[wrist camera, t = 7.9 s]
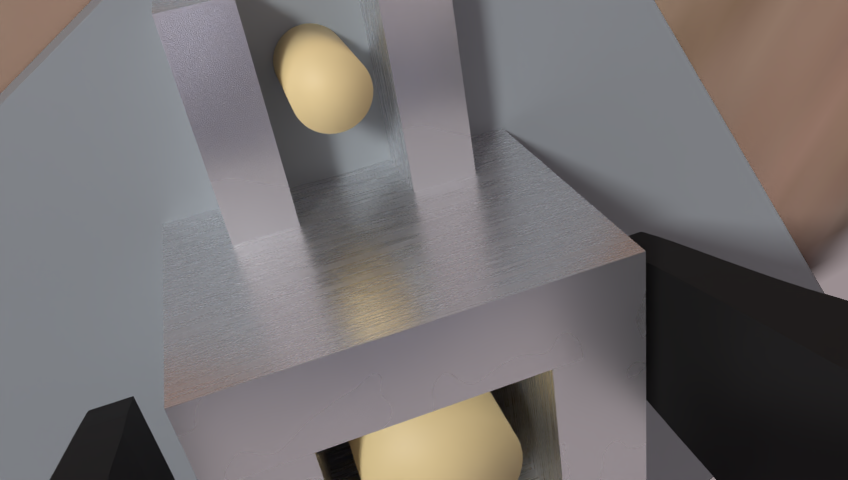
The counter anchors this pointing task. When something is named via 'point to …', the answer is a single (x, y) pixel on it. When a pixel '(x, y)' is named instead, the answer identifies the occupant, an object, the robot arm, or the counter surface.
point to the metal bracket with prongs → (388, 275)
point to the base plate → (321, 158)
